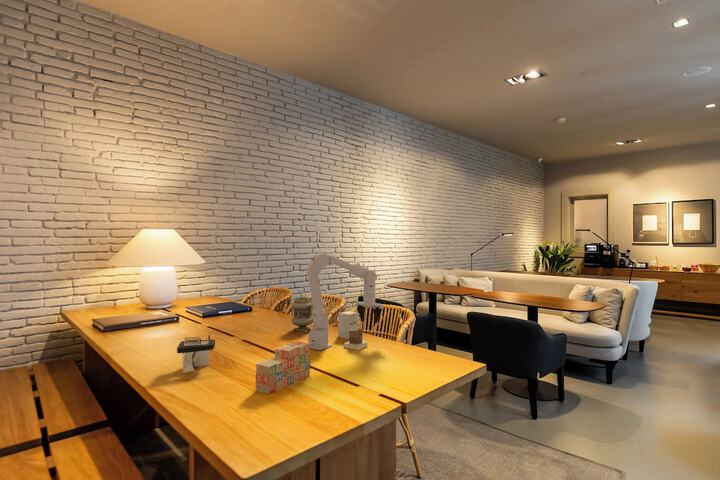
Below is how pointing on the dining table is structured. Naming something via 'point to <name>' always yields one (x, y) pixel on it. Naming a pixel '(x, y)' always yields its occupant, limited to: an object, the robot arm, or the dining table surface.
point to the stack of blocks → (283, 367)
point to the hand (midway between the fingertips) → (369, 322)
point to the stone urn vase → (302, 313)
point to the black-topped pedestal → (195, 352)
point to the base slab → (355, 345)
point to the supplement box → (346, 323)
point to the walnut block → (355, 336)
